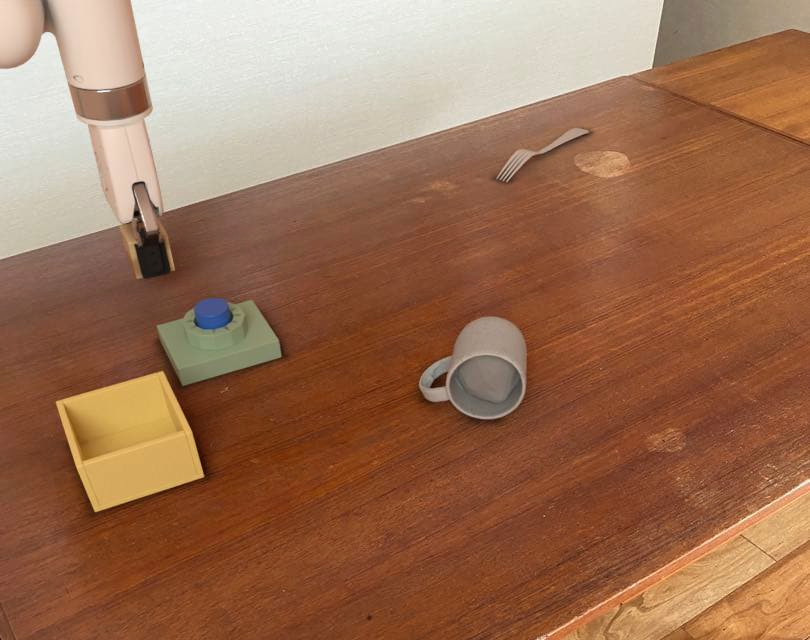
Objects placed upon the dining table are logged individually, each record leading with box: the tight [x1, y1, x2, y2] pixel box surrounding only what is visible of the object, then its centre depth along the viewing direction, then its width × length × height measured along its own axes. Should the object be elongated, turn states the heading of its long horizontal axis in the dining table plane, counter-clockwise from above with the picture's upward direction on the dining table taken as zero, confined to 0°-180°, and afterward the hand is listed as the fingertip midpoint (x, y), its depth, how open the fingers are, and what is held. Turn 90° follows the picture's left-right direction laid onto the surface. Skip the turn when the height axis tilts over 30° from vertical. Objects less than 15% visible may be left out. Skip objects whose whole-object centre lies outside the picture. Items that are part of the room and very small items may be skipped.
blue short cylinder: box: [193, 297, 231, 330], centre depth 91 cm, size 4×4×2 cm
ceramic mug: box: [418, 315, 528, 420], centre depth 85 cm, size 11×8×8 cm
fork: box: [495, 127, 590, 183], centre depth 125 cm, size 3×21×3 cm, turn 139°
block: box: [118, 218, 176, 280], centre depth 98 cm, size 4×4×4 cm
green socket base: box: [156, 299, 282, 387], centre depth 93 cm, size 11×9×4 cm
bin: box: [55, 370, 205, 513], centre depth 80 cm, size 10×10×6 cm
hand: (150, 263), depth 99 cm, fingers closed on block, 4 cm apart
